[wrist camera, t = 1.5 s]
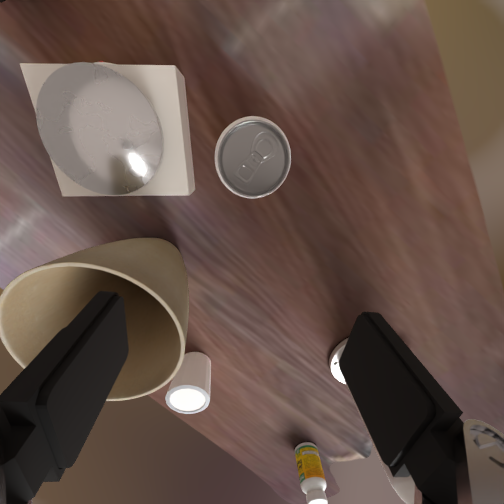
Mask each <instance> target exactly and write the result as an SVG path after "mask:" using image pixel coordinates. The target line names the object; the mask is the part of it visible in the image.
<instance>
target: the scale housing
mask: <svg viewBox="0 0 504 504" xmlns="http://www.w3.org/2000/svg"><path fill="white" fill-rule="evenodd" d="M95 64H99V65H103V66H105V67H108V68H110V69H112V70H114V71H116V72H118V73H120V74H121V75H123V76H124V77H126V78H127V79H129V80H130V81H131V82H133V83H134V84H135V85H136V86H137V87H138V88H139V89H140V90H141V91H142V92H143V93H144V94H145V96H146V97H147V98H148V100H149V101H150V102H151V104H152V106H153V108H154V109H155V111H156V113H157V116H158V118H159V121H160V124H161V127H162V131H163V137H164V153H163V159H162V162H161V165H160V168H159V170H158V172H157V173H156V175H155V176H154V178H153V179H152V180H151V181H150V182H149V183H148V184H147V185H145V186H144V187H142V188H140V189H139V190H136V191H134V192H131V193H128V194H123V195H105V194H100V193H97V192H93V191H91V190H89V189H86V188H84V187H82V186H81V185H79V184H77V183H76V182H74V181H73V180H71V179H70V178H69V177H68V176H67V175H65V174H64V173H63V172H62V171H61V170H60V169H59V167H58V166H57V165H56V164H55V163H54V161H53V160H52V159H51V157H50V159H51V162H52V165H53V168H54V171H55V174H56V177H57V180H58V184H59V187H60V190H61V193H62V196H172V195H190V194H191V193H192V192H193V191H195V181H194V171H193V160H192V150H191V140H190V129H189V119H188V109H187V98H186V88H185V78H184V76H183V75H182V74H181V72H180V71H179V70H178V68H177V67H176V66H175V65H117V64H113V63H106V62H103V61H99V62H95ZM65 65H68V64H34V63H20V66H21V69H22V73H23V76H24V79H25V82H26V85H27V88H28V91H29V94H30V97H31V100H32V103H33V106H34V110H35V113H36V105H37V99H38V95H39V92H40V90H41V87H42V85H43V84H44V82H45V81H46V79H47V78H48V77H49V76H50V75H51V74H52V73H53V72H54V71H56V70H57V69H59V68H61V67H63V66H65ZM49 156H50V155H49Z"/></svg>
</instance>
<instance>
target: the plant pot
mask: <svg viewBox="0 0 504 504" xmlns="http://www.w3.org/2000/svg"><path fill="white" fill-rule="evenodd" d="M99 291H108V292H117V293H118V294H119V296H121V297H123V299H124V307H125V317H126V327H127V337H128V346H129V352H128V356H127V359H126V361H125V363H124V365H123V367H122V369H121V371H120V373H119V375H118V377H117V379H116V381H115V383H114V385H113V387H112V389H111V391H110V393H109V395H108V397H107V399H106V401H121V400H128V399H133V398H138V397H141V396H144V395H147V394H150V393H152V392H154V391H156V390H158V389H160V388H161V387H163V386H164V385H166V384H167V383H168V382H169V381H170V380H171V379H172V378H173V377H174V376H175V375H176V373H177V372H178V370H179V368H180V366H181V364H182V362H183V358H184V353H185V345H186V336H187V327H188V314H189V290H188V280H187V273H186V269H185V265H184V261H183V258H182V256H181V254H180V252H179V250H178V249H177V248H176V247H175V246H174V245H173V244H171V243H170V242H168V241H166V240H163V239H160V238H134V239H126V240H120V241H115V242H111V243H106V244H102V245H99V246H95V247H91V248H88V249H85V250H82V251H78V252H76V253H73V254H70V255H67V256H65V257H62V258H59V259H56V260H54V261H51V262H48V263H46V264H43V265H41V266H38V267H36V268H33V269H30V270H28V271H26V272H24V273H23V274H21V275H19V276H18V277H16V278H15V279H14V280H13V281H11V282H10V283H9V284H8V285H7V287H6V288H5V289H4V291H3V293H2V294H1V297H0V337H1V340H2V341H3V344H4V345H5V347H6V349H7V350H8V351H9V353H10V354H11V355H12V356H13V358H14V359H15V360H16V361H17V362H18V363H19V364H20V365H21V366H22V367H23V368H24V369H25V368H26V367H27V366H28V365H29V363H30V362H31V361H32V360H33V359H34V358H35V357H36V356H37V355H38V354H39V353H40V352H41V350H42V349H43V348H44V347H45V346H46V345H47V344H48V343H49V342H50V341H51V340H52V339H53V338H54V336H55V335H56V334H57V333H58V332H59V331H60V330H61V329H63V328H65V327H67V326H68V325H69V323H70V322H71V321H72V320H73V319H74V318H75V317H76V316H77V315H78V314H79V312H80V311H81V310H82V309H83V308H84V307H85V306H86V305H87V304H88V303H89V301H90V300H91V299H92V298H93V297H94V296H95V295H96V294H97V293H98V292H99Z"/></svg>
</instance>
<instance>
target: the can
mask: <svg viewBox="0 0 504 504" xmlns="http://www.w3.org/2000/svg"><path fill="white" fill-rule="evenodd" d="M290 164H291V151H290V146H289V143H288V140H287V138H286V136H285V134H284V133H283V131H282V130H281V129H280V128H279V127H278V126H277V125H276V124H275V123H273V122H272V121H270V120H268V119H265V118H262V117H257V116H249V117H243V118H240V119H238V120H236V121H234V122H233V123H231V124H230V125H229V126H228V127H227V128H226V129H225V130H224V131H223V132H222V134H221V135H220V137H219V139H218V142H217V145H216V149H215V166H216V170H217V173H218V175H219V177H220V179H221V181H222V182H223V184H224V185H225V186H226V187H227V188H228V189H229V190H230V191H232V192H233V193H235V194H236V195H239V196H241V197H245V198H261V197H264V196H267V195H269V194H271V193H272V192H274V191H275V190H276V189H278V188H279V187H280V186H281V184H282V183H283V182H284V180H285V178H286V176H287V174H288V172H289V168H290Z"/></svg>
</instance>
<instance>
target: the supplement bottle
mask: <svg viewBox="0 0 504 504" xmlns="http://www.w3.org/2000/svg"><path fill="white" fill-rule="evenodd" d="M295 456H296V461H297V467H298V473H299V478H300V484H301V488H302V490H303V492H304V493H305V494H307V495H306V499H307V504H327V498H326V494H325V492H324V491H325V489H326V481H325V477H324V473H323V469H322V465H321V461H320V457H319V453H318V450H317V447H316V445H314V444H313V443H310V442H305V443H301V444H299V445H298V446H297V447H296V448H295Z"/></svg>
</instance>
